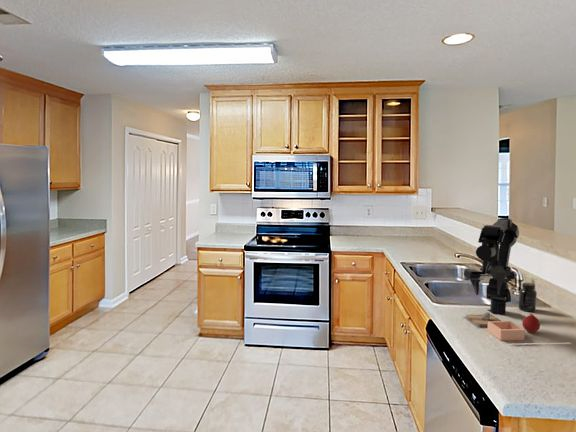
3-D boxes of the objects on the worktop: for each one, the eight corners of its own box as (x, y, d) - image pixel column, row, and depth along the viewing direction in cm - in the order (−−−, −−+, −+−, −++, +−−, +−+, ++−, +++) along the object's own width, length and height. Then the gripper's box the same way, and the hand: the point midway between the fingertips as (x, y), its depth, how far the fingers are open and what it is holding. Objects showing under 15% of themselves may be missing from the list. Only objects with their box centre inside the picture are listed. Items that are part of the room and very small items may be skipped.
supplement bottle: (515, 306, 193) (517, 281, 192) (531, 307, 192) (533, 282, 191) (521, 311, 186) (523, 285, 185) (538, 312, 185) (540, 286, 184)
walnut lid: (466, 317, 177) (466, 308, 176) (491, 317, 177) (491, 308, 177) (479, 327, 166) (480, 318, 165) (506, 326, 166) (506, 317, 166)
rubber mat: (462, 318, 178) (462, 316, 178) (492, 317, 179) (492, 316, 178) (478, 329, 165) (478, 328, 165) (510, 329, 166) (510, 327, 166)
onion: (533, 330, 165) (534, 310, 164) (542, 336, 159) (544, 315, 158) (518, 330, 164) (520, 310, 164) (527, 336, 159) (529, 316, 158)
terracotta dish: (487, 332, 162) (487, 321, 161) (509, 332, 163) (510, 321, 162) (500, 342, 153) (501, 330, 153) (524, 341, 154) (524, 329, 153)
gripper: (478, 260, 160) (476, 300, 161) (525, 261, 161) (522, 300, 163) (464, 255, 171) (462, 292, 172) (508, 255, 172) (505, 293, 174)
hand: (487, 294), depth 170 cm, fingers open, 9 cm apart
